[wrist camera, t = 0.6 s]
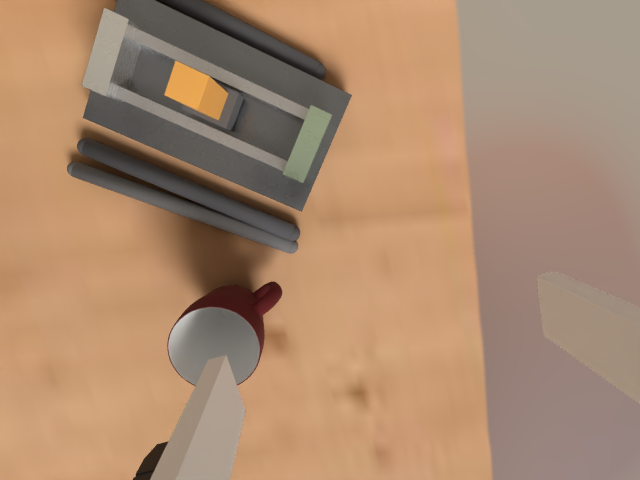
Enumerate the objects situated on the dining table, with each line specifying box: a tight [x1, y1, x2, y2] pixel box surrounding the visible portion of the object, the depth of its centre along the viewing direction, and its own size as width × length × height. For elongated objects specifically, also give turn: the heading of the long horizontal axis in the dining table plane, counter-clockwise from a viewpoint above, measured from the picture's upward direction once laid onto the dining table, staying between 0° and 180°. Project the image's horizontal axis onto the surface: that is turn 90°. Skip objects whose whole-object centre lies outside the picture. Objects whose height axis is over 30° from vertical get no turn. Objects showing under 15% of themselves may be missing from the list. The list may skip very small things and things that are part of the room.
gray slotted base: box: [82, 0, 352, 212], centre depth 33 cm, size 22×12×6 cm, turn 66°
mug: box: [168, 282, 282, 386], centre depth 35 cm, size 10×8×10 cm
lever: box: [164, 61, 244, 131], centre depth 28 cm, size 4×3×8 cm
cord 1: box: [159, 0, 325, 80], centre depth 33 cm, size 20×2×2 cm, turn 64°
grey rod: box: [77, 138, 300, 241], centre depth 36 cm, size 24×2×2 cm, turn 66°
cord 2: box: [67, 162, 298, 253], centre depth 37 cm, size 25×2×2 cm, turn 69°
